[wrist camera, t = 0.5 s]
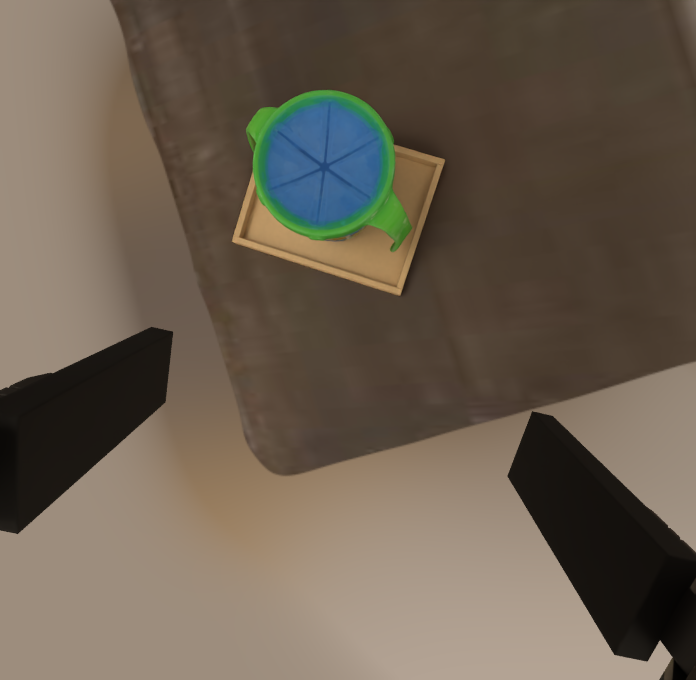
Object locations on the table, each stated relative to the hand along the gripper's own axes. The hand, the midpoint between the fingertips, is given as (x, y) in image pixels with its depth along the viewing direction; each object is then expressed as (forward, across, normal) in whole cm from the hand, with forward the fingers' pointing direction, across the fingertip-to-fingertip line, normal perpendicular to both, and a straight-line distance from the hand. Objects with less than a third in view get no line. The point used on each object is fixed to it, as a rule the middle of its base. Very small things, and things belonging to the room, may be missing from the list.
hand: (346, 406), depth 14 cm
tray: (+28, -4, +8) cm, 30 cm away
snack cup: (+28, -4, +8) cm, 29 cm away
